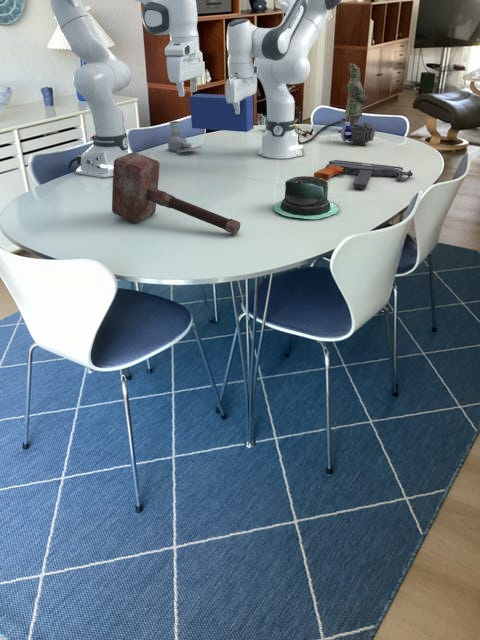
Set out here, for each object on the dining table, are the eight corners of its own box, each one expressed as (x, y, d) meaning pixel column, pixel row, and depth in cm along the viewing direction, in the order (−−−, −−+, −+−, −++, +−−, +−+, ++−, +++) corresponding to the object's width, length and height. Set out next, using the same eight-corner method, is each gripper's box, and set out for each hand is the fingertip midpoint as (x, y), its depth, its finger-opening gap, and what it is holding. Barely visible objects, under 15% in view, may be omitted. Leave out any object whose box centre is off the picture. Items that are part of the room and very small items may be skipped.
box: (191, 128, 213) (189, 96, 207) (199, 124, 218) (197, 93, 212) (247, 132, 204) (246, 99, 198) (253, 128, 209) (252, 96, 203)
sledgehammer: (250, 194, 153) (132, 150, 165) (234, 205, 146) (112, 158, 158) (240, 249, 164) (129, 203, 175) (224, 261, 156) (110, 213, 168)
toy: (345, 120, 249) (377, 123, 242) (343, 139, 253) (375, 143, 246) (337, 123, 243) (369, 127, 236) (336, 143, 247) (367, 147, 240)
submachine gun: (306, 175, 196) (332, 158, 214) (306, 183, 197) (332, 166, 216) (396, 187, 182) (415, 168, 201) (395, 195, 183) (414, 175, 202)
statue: (367, 132, 266) (374, 63, 251) (349, 133, 264) (355, 64, 249) (357, 127, 275) (362, 61, 260) (339, 129, 273) (344, 62, 258)
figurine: (302, 128, 254) (260, 115, 266) (300, 145, 258) (258, 131, 270) (318, 123, 263) (276, 111, 275) (315, 139, 267) (274, 127, 279)
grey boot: (176, 119, 242) (200, 124, 233) (178, 147, 248) (202, 152, 239) (161, 122, 236) (185, 127, 227) (163, 150, 242) (187, 156, 234)
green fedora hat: (344, 197, 179) (337, 220, 163) (293, 220, 188) (282, 244, 171) (324, 156, 174) (314, 175, 157) (272, 181, 182) (259, 202, 166)
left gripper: (189, 44, 183) (191, 89, 190) (161, 49, 167) (166, 98, 174) (206, 44, 181) (208, 89, 188) (181, 49, 165) (184, 99, 172)
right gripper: (236, 75, 188) (238, 118, 195) (259, 66, 204) (260, 106, 211) (220, 75, 190) (222, 117, 198) (243, 66, 206) (245, 105, 213)
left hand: (188, 94), depth 181 cm, fingers open, 8 cm apart
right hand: (242, 111), depth 205 cm, fingers closed on box, 6 cm apart
